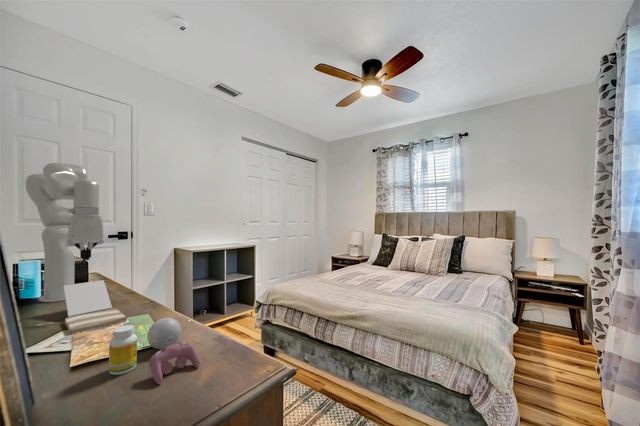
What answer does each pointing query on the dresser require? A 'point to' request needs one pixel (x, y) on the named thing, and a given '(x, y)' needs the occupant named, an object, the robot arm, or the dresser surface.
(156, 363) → the video game controller
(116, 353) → the supplement bottle
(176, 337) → the bath bomb
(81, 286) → the grey plank
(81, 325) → the birch board
